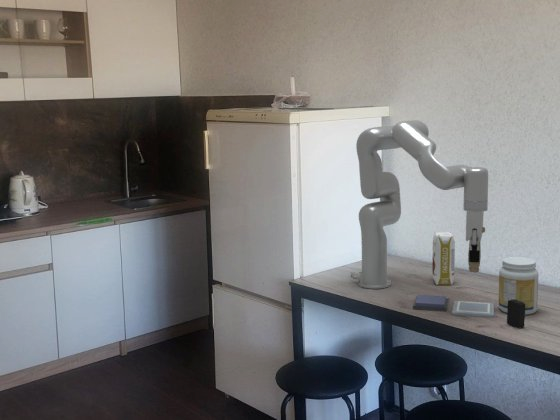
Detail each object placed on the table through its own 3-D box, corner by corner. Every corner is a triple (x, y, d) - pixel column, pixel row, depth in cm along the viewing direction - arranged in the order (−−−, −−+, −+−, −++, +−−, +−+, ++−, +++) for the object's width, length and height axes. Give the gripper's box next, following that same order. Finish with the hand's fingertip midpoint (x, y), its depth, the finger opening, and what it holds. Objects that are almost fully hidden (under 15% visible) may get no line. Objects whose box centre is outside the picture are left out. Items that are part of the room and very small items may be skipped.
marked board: (452, 314, 220) (452, 311, 220) (454, 302, 232) (454, 300, 232) (493, 317, 216) (493, 314, 216) (493, 305, 228) (493, 302, 228)
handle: (475, 274, 218) (477, 229, 215) (461, 270, 224) (462, 226, 221) (486, 272, 220) (488, 228, 217) (472, 268, 226) (473, 224, 223)
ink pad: (412, 309, 227) (412, 303, 226) (416, 299, 237) (416, 293, 237) (446, 311, 223) (446, 305, 223) (448, 301, 234) (448, 295, 233)
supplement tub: (506, 302, 231) (507, 254, 228) (542, 308, 224) (544, 259, 221) (492, 311, 222) (493, 261, 219) (529, 318, 214) (531, 267, 211)
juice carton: (451, 279, 261) (452, 231, 257) (454, 285, 252) (455, 236, 249) (431, 279, 261) (432, 231, 258) (434, 285, 253) (435, 236, 250)
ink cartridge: (524, 327, 206) (525, 302, 205) (519, 329, 205) (520, 304, 204) (511, 322, 211) (513, 298, 209) (506, 324, 210) (507, 299, 208)
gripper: (464, 201, 227) (463, 254, 230) (462, 209, 211) (461, 266, 214) (487, 201, 225) (486, 254, 228) (487, 210, 209) (486, 267, 212)
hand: (474, 259), depth 221 cm, fingers closed on handle, 4 cm apart
